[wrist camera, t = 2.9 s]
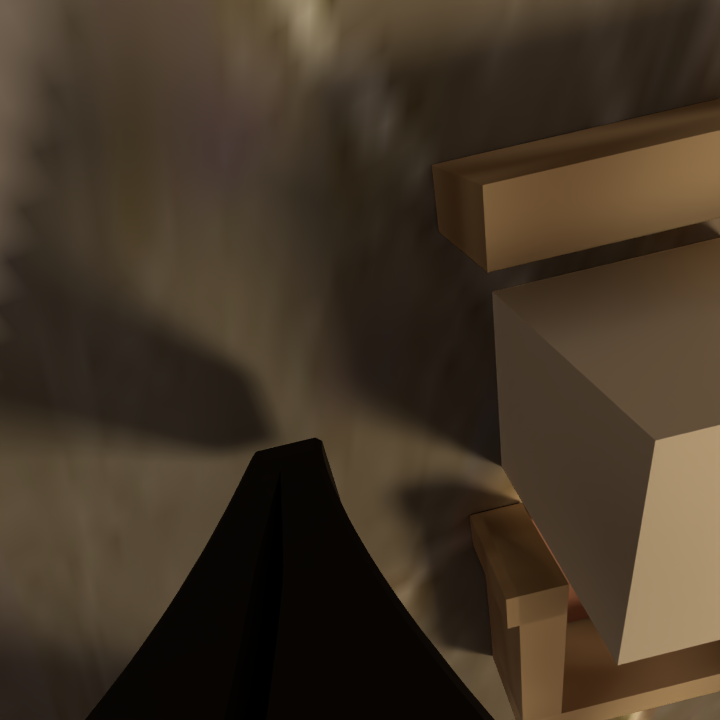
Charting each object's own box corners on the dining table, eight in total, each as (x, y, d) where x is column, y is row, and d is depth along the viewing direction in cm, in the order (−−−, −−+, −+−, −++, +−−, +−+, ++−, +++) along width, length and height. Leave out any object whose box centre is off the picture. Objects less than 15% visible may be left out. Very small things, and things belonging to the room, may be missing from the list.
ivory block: (500, 464, 12) (617, 664, 8) (490, 290, 10) (655, 440, 5) (682, 420, 12) (900, 594, 8) (719, 235, 10) (1071, 339, 5)
